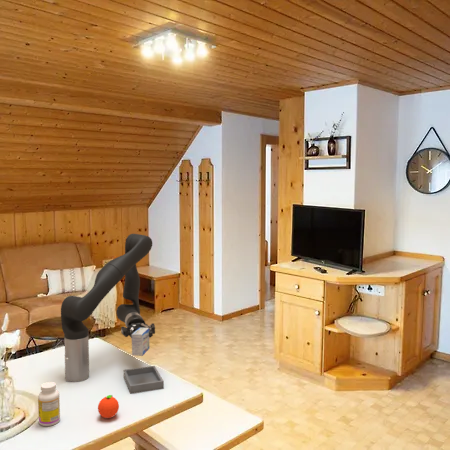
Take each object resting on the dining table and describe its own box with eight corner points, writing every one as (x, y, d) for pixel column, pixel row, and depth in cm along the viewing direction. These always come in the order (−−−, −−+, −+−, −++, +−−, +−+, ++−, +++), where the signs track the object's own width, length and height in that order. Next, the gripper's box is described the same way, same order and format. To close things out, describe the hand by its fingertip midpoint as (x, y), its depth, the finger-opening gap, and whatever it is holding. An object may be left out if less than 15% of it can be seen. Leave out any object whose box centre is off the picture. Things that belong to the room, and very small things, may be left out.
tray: (130, 393, 177) (130, 386, 177) (123, 377, 191) (123, 369, 191) (163, 388, 181) (163, 381, 181) (154, 372, 196) (154, 365, 196)
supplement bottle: (42, 417, 159) (41, 380, 158) (62, 416, 160) (61, 380, 159) (36, 427, 153) (34, 389, 151) (57, 426, 153) (56, 388, 152)
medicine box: (142, 356, 180) (142, 334, 179) (131, 355, 181) (131, 333, 180) (149, 348, 188) (149, 327, 187) (139, 348, 189) (139, 327, 188)
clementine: (102, 409, 165) (102, 390, 164) (122, 410, 164) (121, 391, 163) (95, 421, 157) (94, 401, 156) (115, 422, 156) (115, 402, 155)
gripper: (117, 316, 198) (124, 328, 182) (151, 312, 203) (160, 324, 187) (117, 333, 199) (124, 347, 183) (151, 329, 204) (160, 343, 188)
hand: (142, 336), depth 185 cm, fingers closed on medicine box, 6 cm apart
